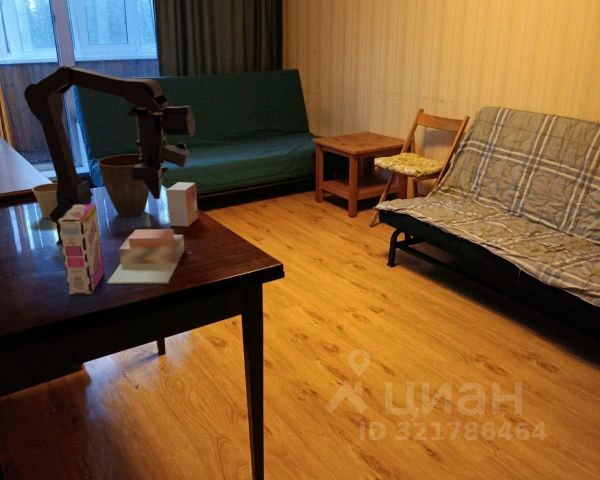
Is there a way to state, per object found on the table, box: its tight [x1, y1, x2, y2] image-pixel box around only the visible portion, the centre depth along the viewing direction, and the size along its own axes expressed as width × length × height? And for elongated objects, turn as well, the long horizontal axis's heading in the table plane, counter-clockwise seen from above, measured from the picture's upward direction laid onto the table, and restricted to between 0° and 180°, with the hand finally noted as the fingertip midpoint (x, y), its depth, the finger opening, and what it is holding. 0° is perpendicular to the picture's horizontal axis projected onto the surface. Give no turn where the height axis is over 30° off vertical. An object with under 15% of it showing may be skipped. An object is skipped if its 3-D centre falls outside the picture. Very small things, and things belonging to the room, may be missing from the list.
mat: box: [106, 263, 178, 285], centre depth 125 cm, size 13×10×1 cm
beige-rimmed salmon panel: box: [128, 228, 175, 247], centre depth 132 cm, size 9×6×2 cm, turn 90°
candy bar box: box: [58, 203, 105, 296], centre depth 118 cm, size 11×5×16 cm, turn 5°
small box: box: [166, 181, 199, 227], centre depth 156 cm, size 8×6×10 cm
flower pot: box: [31, 182, 57, 219], centre depth 162 cm, size 9×9×9 cm
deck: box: [118, 234, 185, 265], centre depth 134 cm, size 13×9×4 cm
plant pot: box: [97, 153, 150, 218], centre depth 163 cm, size 15×15×16 cm
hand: (157, 198), depth 138 cm, fingers closed
